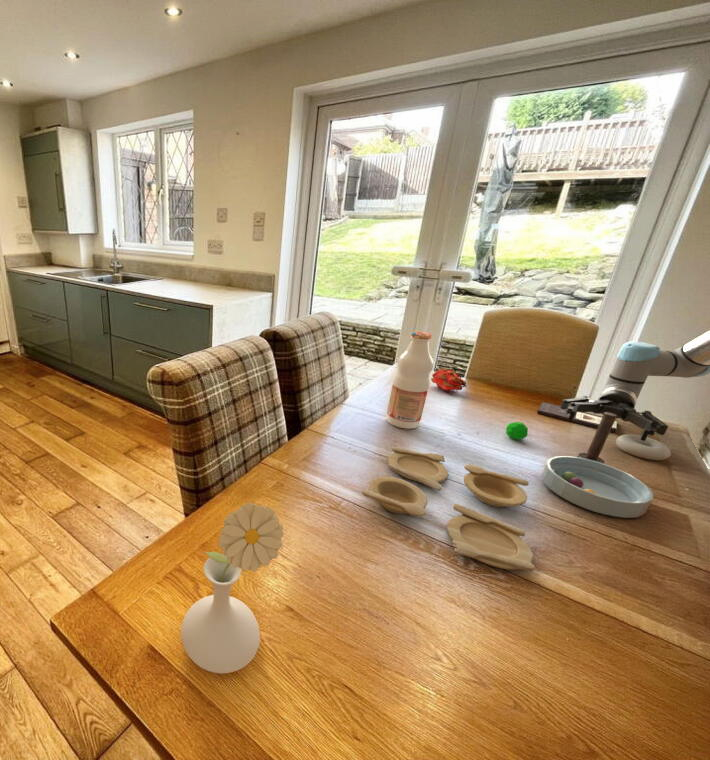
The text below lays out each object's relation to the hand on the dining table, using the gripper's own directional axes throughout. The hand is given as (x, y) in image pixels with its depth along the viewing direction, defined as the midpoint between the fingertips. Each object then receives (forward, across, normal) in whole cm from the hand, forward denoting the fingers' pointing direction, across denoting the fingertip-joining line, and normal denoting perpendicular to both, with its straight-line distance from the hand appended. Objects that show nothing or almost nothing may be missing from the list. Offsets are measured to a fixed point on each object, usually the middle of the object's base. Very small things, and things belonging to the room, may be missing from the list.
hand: (606, 425), depth 100 cm
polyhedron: (+5, +16, -9) cm, 19 cm away
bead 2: (+23, +1, -7) cm, 24 cm away
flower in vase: (+108, +28, -9) cm, 112 cm away
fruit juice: (+20, +41, -9) cm, 47 cm away
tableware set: (+50, +18, -9) cm, 54 cm away
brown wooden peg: (+5, 0, -9) cm, 11 cm away
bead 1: (+21, +2, -7) cm, 23 cm away
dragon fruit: (-18, +42, -9) cm, 47 cm away
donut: (-12, -8, -9) cm, 17 cm away
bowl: (+22, -2, -9) cm, 24 cm away
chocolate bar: (-25, +7, -9) cm, 28 cm away
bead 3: (+26, -2, -7) cm, 27 cm away
